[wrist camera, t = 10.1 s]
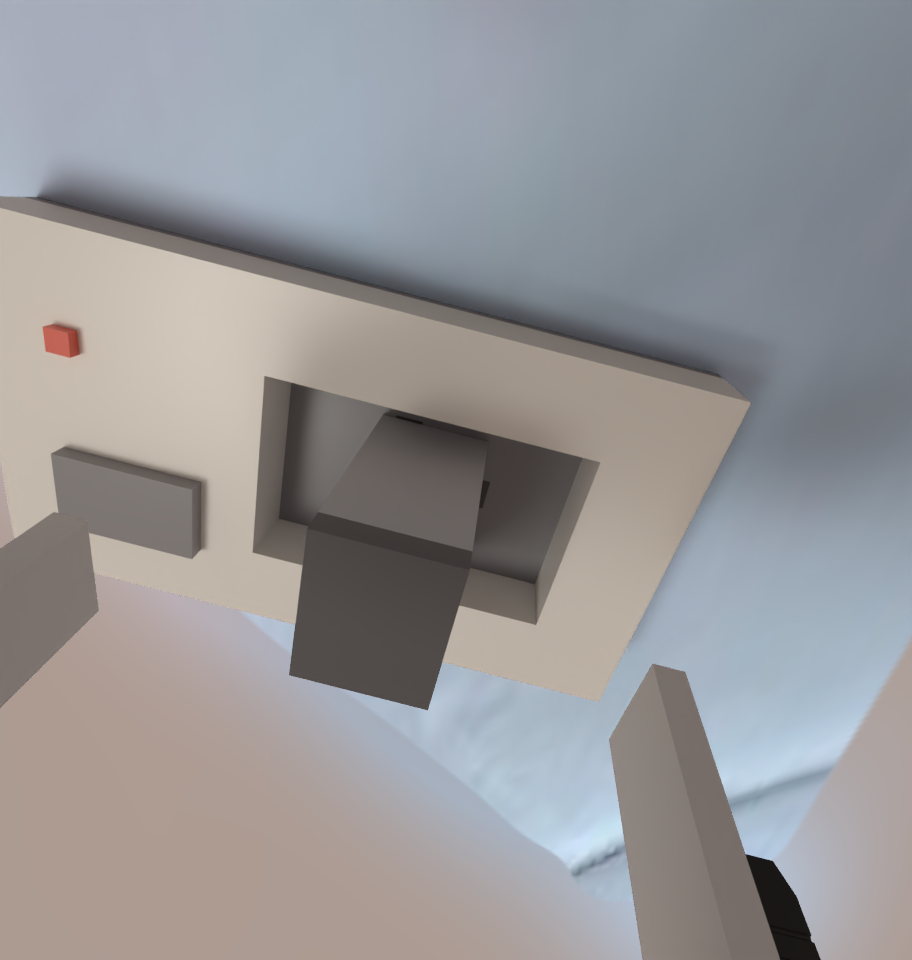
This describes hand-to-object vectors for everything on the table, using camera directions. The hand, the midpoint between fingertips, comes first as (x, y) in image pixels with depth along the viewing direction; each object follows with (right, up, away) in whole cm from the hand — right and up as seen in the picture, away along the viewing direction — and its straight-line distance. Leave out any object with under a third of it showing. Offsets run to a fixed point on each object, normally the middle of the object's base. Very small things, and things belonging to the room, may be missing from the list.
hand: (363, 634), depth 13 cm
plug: (+1, +3, +9) cm, 9 cm away
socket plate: (-2, +5, +9) cm, 10 cm away
